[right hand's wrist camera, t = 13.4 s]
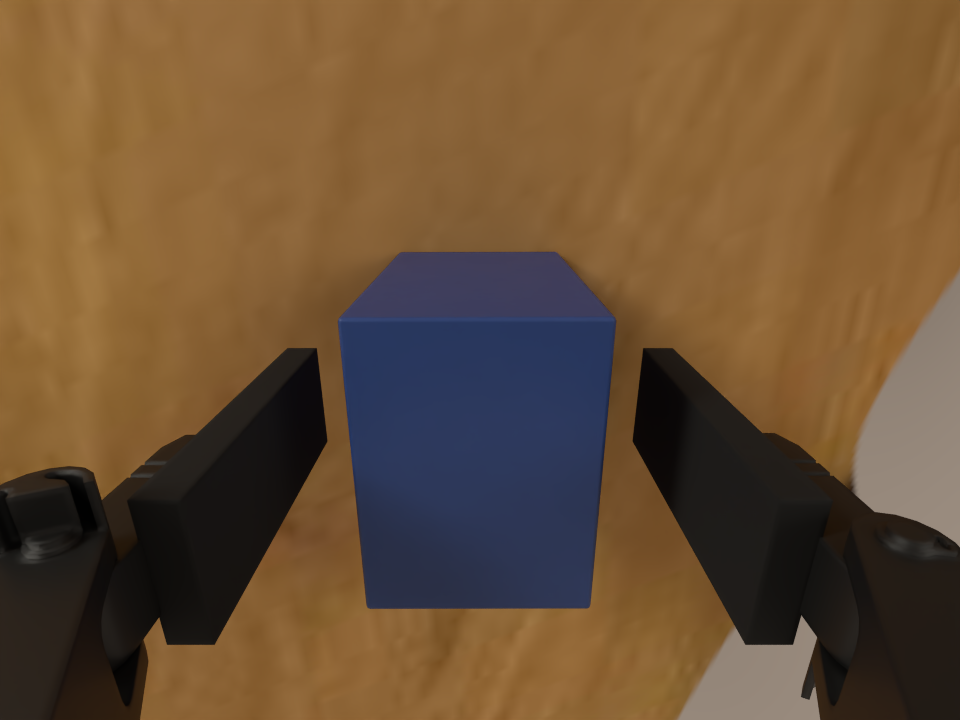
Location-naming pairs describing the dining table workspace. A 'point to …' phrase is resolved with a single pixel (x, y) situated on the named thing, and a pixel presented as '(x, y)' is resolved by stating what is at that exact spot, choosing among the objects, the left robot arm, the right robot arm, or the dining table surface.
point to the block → (477, 430)
